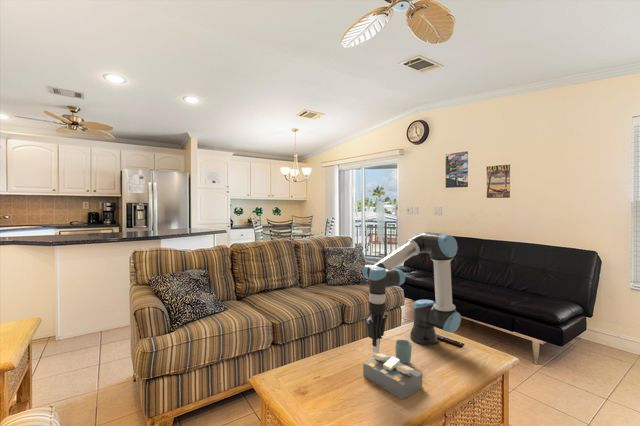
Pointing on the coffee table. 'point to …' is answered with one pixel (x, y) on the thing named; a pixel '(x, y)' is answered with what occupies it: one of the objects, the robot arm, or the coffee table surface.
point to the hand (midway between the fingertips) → (376, 352)
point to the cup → (403, 351)
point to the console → (392, 378)
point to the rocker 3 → (405, 369)
